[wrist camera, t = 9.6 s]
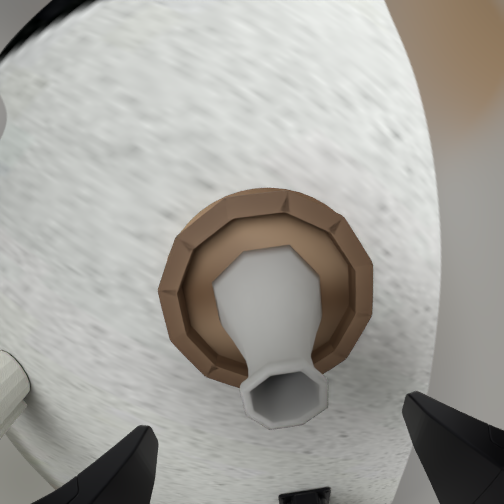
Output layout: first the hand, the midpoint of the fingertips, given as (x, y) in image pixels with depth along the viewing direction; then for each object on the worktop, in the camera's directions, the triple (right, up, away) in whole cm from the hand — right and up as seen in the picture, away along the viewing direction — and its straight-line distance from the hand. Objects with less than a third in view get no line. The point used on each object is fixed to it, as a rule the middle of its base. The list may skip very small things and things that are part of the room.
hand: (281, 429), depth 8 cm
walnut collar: (0, +3, +11) cm, 12 cm away
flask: (0, +3, +11) cm, 11 cm away
